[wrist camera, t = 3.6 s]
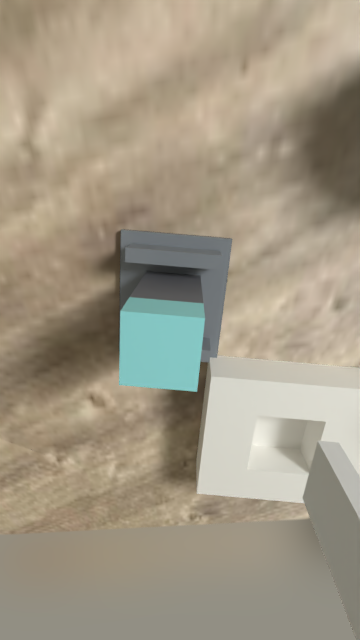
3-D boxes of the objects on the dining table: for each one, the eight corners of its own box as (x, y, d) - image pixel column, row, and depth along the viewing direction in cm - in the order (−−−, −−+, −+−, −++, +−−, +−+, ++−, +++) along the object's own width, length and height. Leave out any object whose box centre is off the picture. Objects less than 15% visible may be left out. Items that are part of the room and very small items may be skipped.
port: (196, 461, 39) (196, 493, 34) (209, 354, 34) (211, 376, 30) (331, 473, 39) (349, 507, 34) (363, 367, 34) (388, 391, 30)
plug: (144, 321, 32) (119, 384, 21) (146, 270, 31) (120, 311, 19) (195, 325, 32) (196, 391, 21) (200, 275, 31) (205, 318, 19)
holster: (120, 348, 34) (112, 364, 31) (122, 229, 30) (113, 232, 27) (216, 356, 34) (218, 373, 31) (231, 238, 30) (236, 243, 27)
